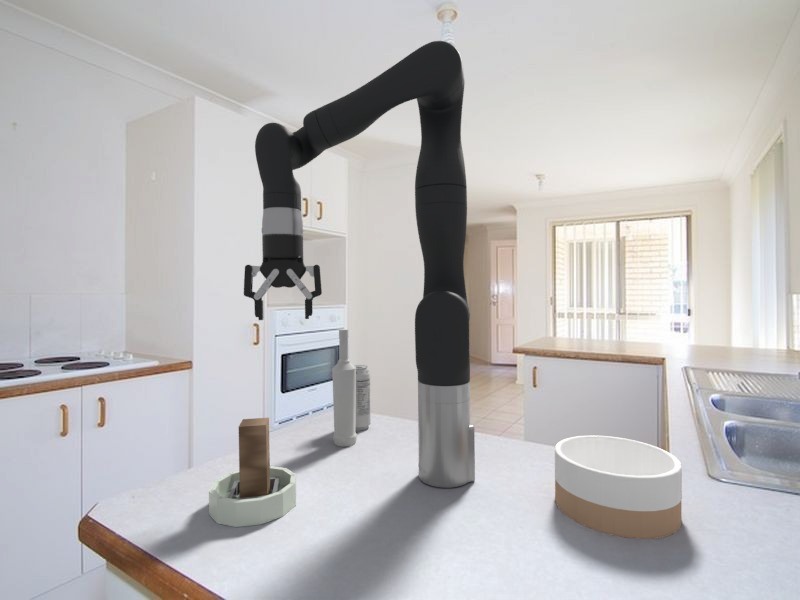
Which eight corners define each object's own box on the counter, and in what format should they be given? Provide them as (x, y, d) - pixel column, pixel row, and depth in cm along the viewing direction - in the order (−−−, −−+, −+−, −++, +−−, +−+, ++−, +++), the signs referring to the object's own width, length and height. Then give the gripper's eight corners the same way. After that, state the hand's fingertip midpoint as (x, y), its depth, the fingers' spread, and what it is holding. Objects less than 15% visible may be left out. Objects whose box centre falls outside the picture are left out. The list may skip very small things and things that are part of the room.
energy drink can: (359, 422, 111) (358, 363, 110) (375, 427, 106) (374, 366, 106) (340, 427, 106) (340, 366, 106) (357, 433, 102) (356, 369, 102)
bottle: (352, 447, 93) (351, 330, 92) (329, 446, 94) (328, 330, 93) (359, 439, 98) (358, 328, 97) (337, 438, 99) (336, 328, 98)
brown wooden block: (270, 491, 70) (268, 417, 70) (267, 502, 66) (266, 424, 66) (244, 493, 70) (243, 419, 69) (239, 505, 66) (238, 426, 66)
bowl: (697, 509, 65) (698, 454, 65) (656, 556, 54) (656, 490, 54) (585, 474, 78) (585, 428, 78) (533, 506, 67) (533, 452, 67)
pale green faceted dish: (297, 483, 75) (297, 463, 75) (294, 520, 63) (294, 496, 63) (220, 490, 73) (219, 470, 73) (201, 531, 61) (201, 506, 61)
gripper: (320, 237, 88) (321, 317, 88) (246, 236, 85) (247, 319, 85) (321, 232, 80) (322, 319, 81) (240, 231, 78) (241, 321, 78)
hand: (284, 319), depth 83 cm, fingers open, 8 cm apart
